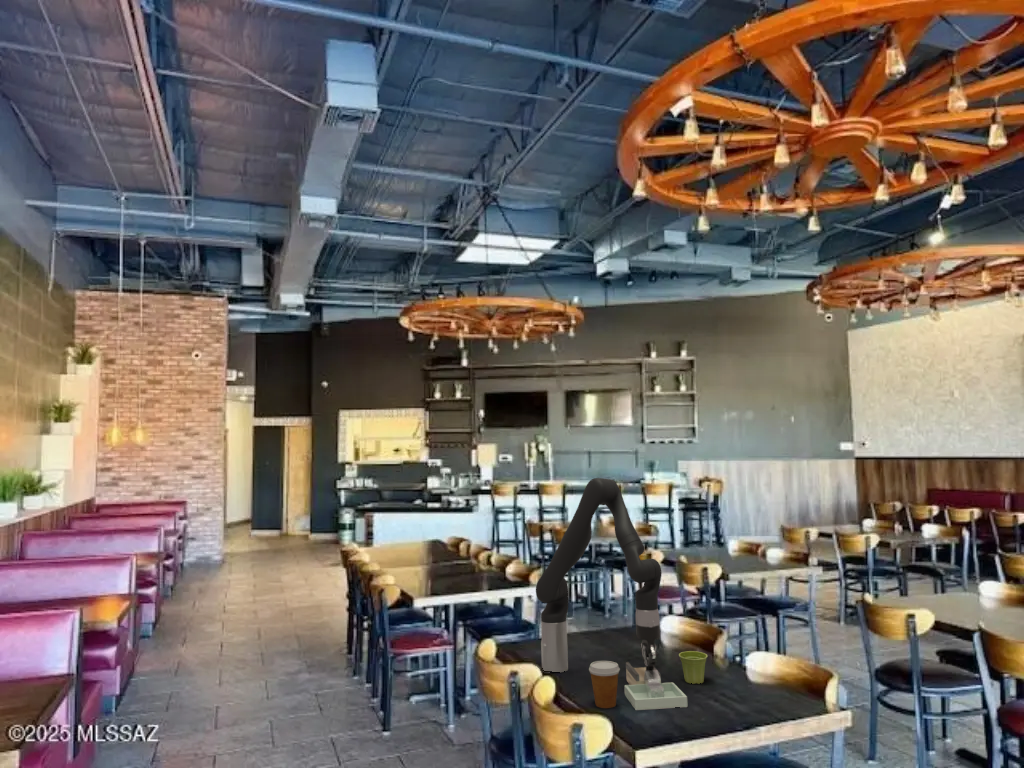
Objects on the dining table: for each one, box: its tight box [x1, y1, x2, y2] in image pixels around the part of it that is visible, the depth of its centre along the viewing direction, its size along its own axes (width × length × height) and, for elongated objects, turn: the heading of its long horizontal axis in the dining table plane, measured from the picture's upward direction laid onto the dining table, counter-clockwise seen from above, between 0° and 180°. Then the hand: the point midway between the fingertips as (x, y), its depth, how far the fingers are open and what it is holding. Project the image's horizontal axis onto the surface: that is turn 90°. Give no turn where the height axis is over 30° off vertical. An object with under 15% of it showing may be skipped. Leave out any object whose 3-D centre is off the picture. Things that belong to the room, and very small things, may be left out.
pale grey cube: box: [648, 685, 664, 698], centre depth 224 cm, size 4×4×4 cm
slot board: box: [625, 661, 662, 685], centre depth 239 cm, size 8×14×6 cm, turn 5°
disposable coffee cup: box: [588, 660, 621, 709], centre depth 223 cm, size 10×10×12 cm
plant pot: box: [678, 650, 708, 685], centre depth 242 cm, size 9×9×9 cm
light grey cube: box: [644, 669, 662, 690], centre depth 228 cm, size 4×4×4 cm
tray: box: [623, 682, 688, 711], centre depth 225 cm, size 16×14×3 cm
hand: (650, 677), depth 231 cm, fingers closed
